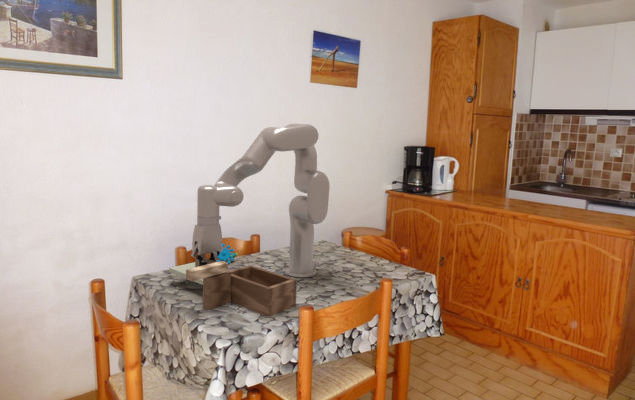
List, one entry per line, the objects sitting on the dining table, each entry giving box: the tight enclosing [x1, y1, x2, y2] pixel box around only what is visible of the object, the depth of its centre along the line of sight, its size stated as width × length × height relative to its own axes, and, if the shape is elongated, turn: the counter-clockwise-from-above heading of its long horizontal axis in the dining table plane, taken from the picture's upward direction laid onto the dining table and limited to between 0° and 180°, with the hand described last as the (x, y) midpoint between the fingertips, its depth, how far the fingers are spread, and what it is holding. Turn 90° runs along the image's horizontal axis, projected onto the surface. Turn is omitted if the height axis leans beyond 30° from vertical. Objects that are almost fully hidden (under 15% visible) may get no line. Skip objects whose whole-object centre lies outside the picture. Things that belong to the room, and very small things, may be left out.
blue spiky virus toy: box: [216, 243, 238, 265], centre depth 202 cm, size 11×6×10 cm
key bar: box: [185, 260, 229, 282], centre depth 150 cm, size 14×3×3 cm, turn 141°
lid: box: [169, 257, 217, 286], centre depth 170 cm, size 13×22×6 cm, turn 51°
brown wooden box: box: [202, 265, 298, 318], centre depth 154 cm, size 22×22×10 cm
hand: (207, 270), depth 168 cm, fingers closed on lid, 3 cm apart
